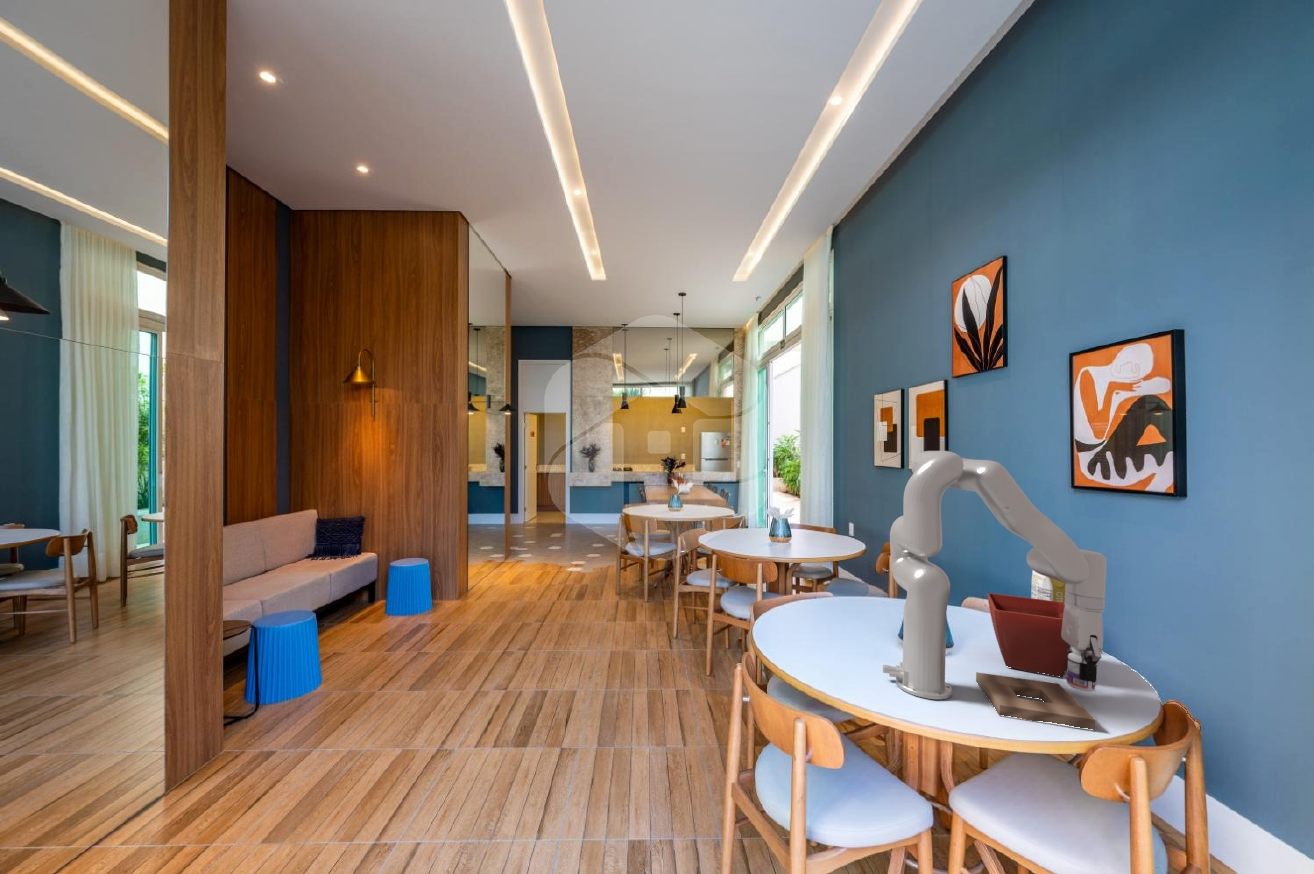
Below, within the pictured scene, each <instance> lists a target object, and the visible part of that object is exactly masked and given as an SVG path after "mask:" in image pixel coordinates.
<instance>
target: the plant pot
mask: <svg viewBox="0 0 1314 874" xmlns="http://www.w3.org/2000/svg"><path fill="white" fill-rule="evenodd" d="M987 601H988V608H989V613H990V618H991V623H992V626H993V630H994V635H995V638H996V641H997V645H998V648H999V651H1000V654H1001V656H1002V659H1003V662H1004V665H1005V666H1008V667H1011V668H1016V669H1020V670H1019V671H1022V670H1025V671H1024V672H1027V671H1031V672H1030V673H1033V672H1039V673H1045V674H1049V675H1048V676H1050V675H1054V676H1053V677H1055V676H1060V677H1059V678H1063V677H1064V676H1065V675H1066V674H1067V656H1068V653H1069V652H1068V651H1067V647H1068V644H1067V642H1066V641H1064V640H1063V639H1062V637H1061V631H1062V621H1063V613H1064V608H1065V603H1062V602H1056V601H1049V600H1041V599H1033V598H1031V597H1025V596H1016V595H1015V596H1014V595H1007V594H999V593H991V592H989V593H987ZM1008 667H1007V668H1008ZM1011 668H1010V669H1011ZM1016 669H1015V670H1016ZM1039 673H1038V674H1039Z"/></svg>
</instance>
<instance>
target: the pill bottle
mask: <svg viewBox="0 0 1314 874" xmlns="http://www.w3.org/2000/svg"><path fill="white" fill-rule="evenodd" d="M1085 650H1087V651H1091V649H1089V648H1086V649H1085ZM1072 652H1073V653H1069V654H1068V666H1067V671H1066V683H1067V685H1069V687H1072V688H1073V689H1076V690H1079V691H1082V692H1090V693H1091V692H1095V690H1096V682H1090V681H1084V680H1081V679H1080V678H1079V668H1080V662H1081V663H1082V659H1081V651H1078V650H1076V649H1075V648H1073V647H1072ZM1088 655H1091V654H1088V653H1086V658H1087V656H1088Z"/></svg>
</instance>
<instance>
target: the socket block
mask: <svg viewBox="0 0 1314 874" xmlns="http://www.w3.org/2000/svg"><path fill="white" fill-rule="evenodd" d="M975 674H976V675H975V682H977V683H978V684H977V683H976V684H977V685H978V687H979V686H980V687H981V688H980V687H979V688H980V690H981V689H982V690H981V691H982V693H983V692H984V693H985V694H984V693H983V694H984V696H985V695H986V696H987V697H986V696H985V697H986V698H988V699H989V700H990V701H989V700H988V699H987V700H988V701H989V703H990V702H991V703H992V704H991V703H990V704H991V706H992V705H993V706H992V707H993V708H994V707H995V709H996V710H995V709H994V710H995V712H996V711H997V712H996V713H997V714H999V715H1004V716H1011V717H1017V718H1022V719H1026V720H1025V721H1027V720H1032V721H1031V722H1033V721H1043V722H1052V723H1057V724H1065V725H1069V726H1074V727H1080V728H1088V729H1093V730H1095V731H1097V729H1096V728H1097V726H1096V725H1097V724H1096V723H1097V720H1096V719H1095V718H1094V716H1093V715H1092V714H1090V713H1089V711H1087V710H1086V708H1084V707H1083V706H1082V705H1081V704H1080V703H1079V702H1078V701H1077V700H1076V699H1075V698H1074V697H1073V696H1072V695H1071V694H1070V693H1069V692H1068V691H1066V689H1064V687H1062V686H1061V685H1060V683H1056V682H1049V681H1041V680H1035V679H1028V678H1027V679H1025V678H1020V677H1012V676H1004V675H999V674H992V673H984V672H977V671H976V672H975ZM1017 695H1020V696H1026V697H1032V698H1039V699H1042V700H1043V701H1044V702H1043V701H1042V700H1036V699H1030V698H1023V697H1018V696H1017ZM999 715H998V716H999ZM1095 731H1094V732H1095Z"/></svg>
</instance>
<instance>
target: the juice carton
mask: <svg viewBox="0 0 1314 874" xmlns="http://www.w3.org/2000/svg"><path fill="white" fill-rule="evenodd" d="M1065 585H1066V584H1065V583H1062V582H1060V581H1057V580H1054V579H1052V578H1048V577H1046V576H1043V575H1041V574H1038V573H1037V572H1035V571H1034V570H1032V573H1031V585H1030V587H1031V591H1030V592H1031V593H1030V598H1033V599H1041V600H1049V601H1056V602H1062V603H1065Z"/></svg>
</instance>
